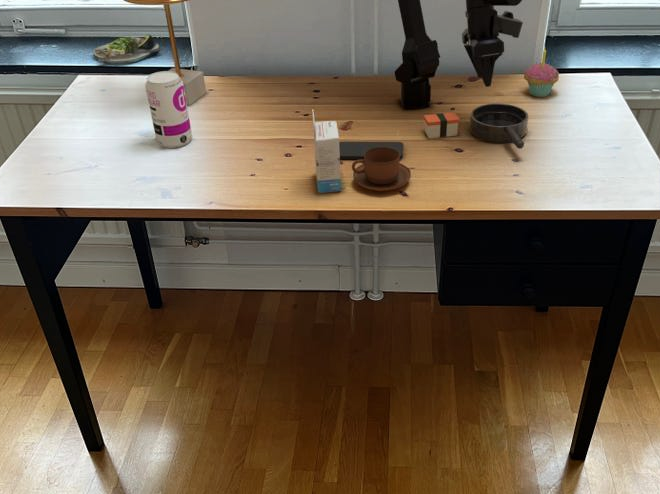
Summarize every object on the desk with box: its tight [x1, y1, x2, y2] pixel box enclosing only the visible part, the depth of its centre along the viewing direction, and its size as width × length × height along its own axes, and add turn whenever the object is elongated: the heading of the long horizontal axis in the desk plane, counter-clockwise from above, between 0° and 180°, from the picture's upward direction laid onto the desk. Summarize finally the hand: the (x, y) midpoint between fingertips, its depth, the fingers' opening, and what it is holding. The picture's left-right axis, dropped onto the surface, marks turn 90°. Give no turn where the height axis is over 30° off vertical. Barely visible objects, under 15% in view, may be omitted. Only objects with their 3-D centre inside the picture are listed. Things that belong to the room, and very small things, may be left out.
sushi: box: [423, 112, 461, 139], centre depth 178 cm, size 7×4×4 cm, turn 100°
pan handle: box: [505, 127, 525, 150], centre depth 169 cm, size 9×2×2 cm, turn 10°
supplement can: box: [145, 70, 193, 149], centre depth 175 cm, size 8×8×15 cm
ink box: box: [311, 108, 342, 194], centre depth 158 cm, size 9×5×15 cm, turn 5°
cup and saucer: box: [351, 147, 412, 192], centre depth 160 cm, size 12×12×6 cm
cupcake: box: [523, 47, 560, 98], centre depth 192 cm, size 9×8×12 cm
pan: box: [468, 103, 529, 144], centre depth 178 cm, size 13×13×4 cm
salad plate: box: [92, 33, 163, 65], centre depth 222 cm, size 19×18×5 cm
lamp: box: [123, 0, 207, 106], centre depth 187 cm, size 21×21×41 cm
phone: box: [339, 141, 404, 160], centre depth 173 cm, size 7×1×15 cm
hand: (484, 81), depth 171 cm, fingers open, 9 cm apart
